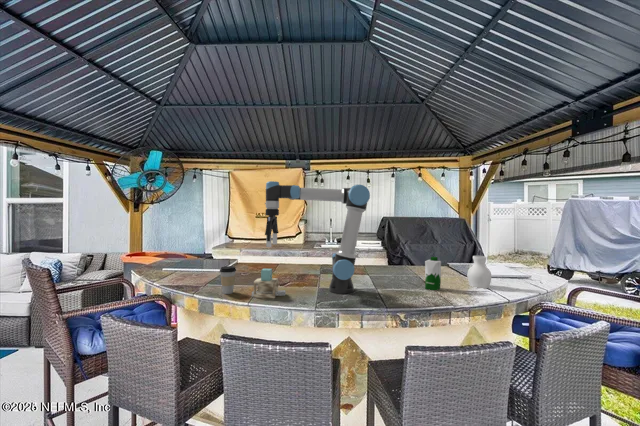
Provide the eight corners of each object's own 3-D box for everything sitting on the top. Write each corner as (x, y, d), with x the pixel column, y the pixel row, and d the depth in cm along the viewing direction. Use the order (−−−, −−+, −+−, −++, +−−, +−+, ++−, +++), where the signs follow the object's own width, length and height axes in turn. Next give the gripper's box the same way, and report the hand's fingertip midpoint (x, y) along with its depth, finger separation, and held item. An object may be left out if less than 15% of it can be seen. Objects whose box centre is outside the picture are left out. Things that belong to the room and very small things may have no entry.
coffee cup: (231, 295, 167) (231, 269, 167) (216, 294, 169) (216, 268, 169) (238, 291, 177) (239, 266, 177) (224, 290, 178) (224, 265, 178)
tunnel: (278, 293, 172) (278, 278, 172) (274, 298, 163) (274, 282, 163) (258, 293, 173) (258, 277, 173) (253, 297, 164) (253, 281, 164)
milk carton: (442, 288, 187) (442, 257, 187) (437, 291, 180) (437, 259, 180) (428, 286, 193) (428, 256, 193) (423, 288, 186) (423, 257, 186)
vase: (488, 284, 199) (489, 255, 199) (494, 290, 185) (494, 258, 185) (465, 283, 203) (465, 254, 203) (469, 288, 190) (469, 257, 189)
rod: (285, 294, 171) (285, 290, 171) (285, 295, 169) (285, 291, 169) (251, 296, 168) (252, 291, 168) (251, 297, 165) (251, 292, 165)
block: (271, 279, 170) (272, 268, 170) (269, 281, 165) (269, 270, 165) (263, 278, 171) (263, 268, 171) (261, 280, 166) (261, 270, 166)
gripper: (271, 208, 180) (270, 243, 180) (259, 208, 155) (259, 248, 156) (283, 208, 180) (282, 243, 180) (273, 208, 155) (273, 248, 155)
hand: (271, 245), depth 168 cm, fingers open, 13 cm apart
